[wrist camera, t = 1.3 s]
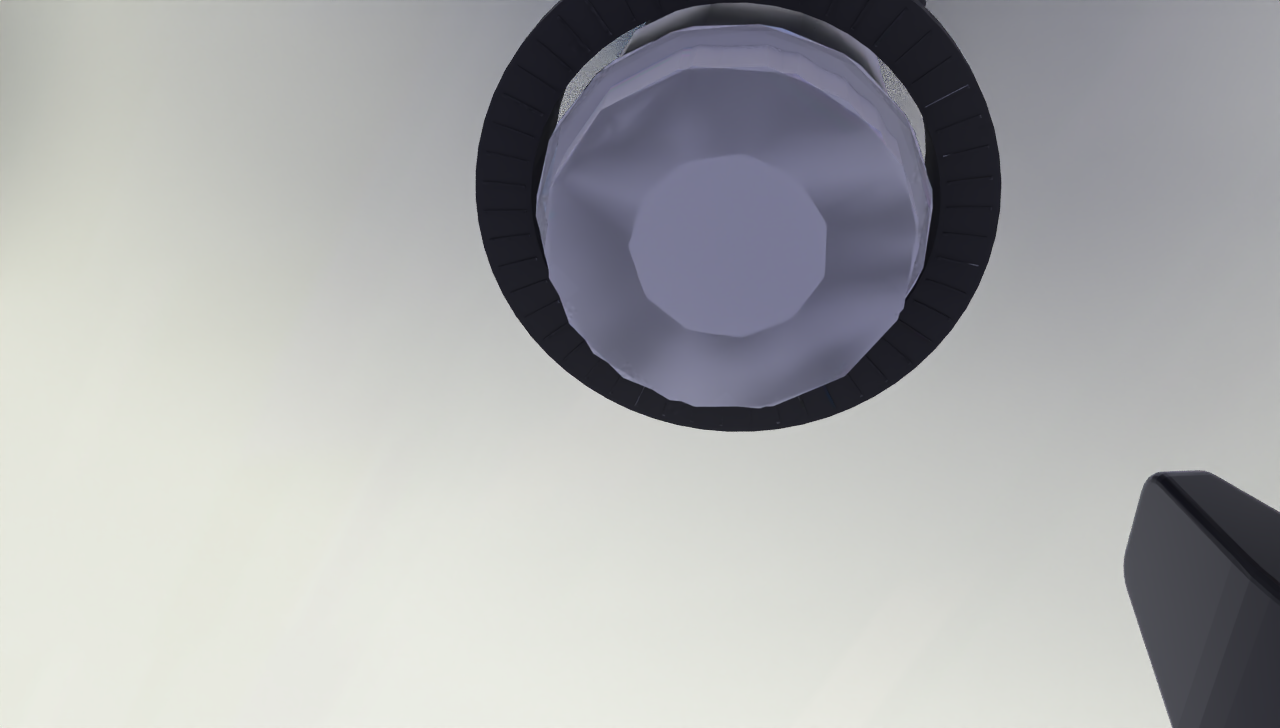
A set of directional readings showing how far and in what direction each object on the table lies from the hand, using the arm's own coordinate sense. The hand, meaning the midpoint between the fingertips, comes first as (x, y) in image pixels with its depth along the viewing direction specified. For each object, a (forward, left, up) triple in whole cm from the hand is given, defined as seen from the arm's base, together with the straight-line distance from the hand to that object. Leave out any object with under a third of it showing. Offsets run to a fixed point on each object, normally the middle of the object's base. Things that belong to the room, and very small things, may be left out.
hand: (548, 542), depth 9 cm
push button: (-1, -1, -14) cm, 14 cm away
